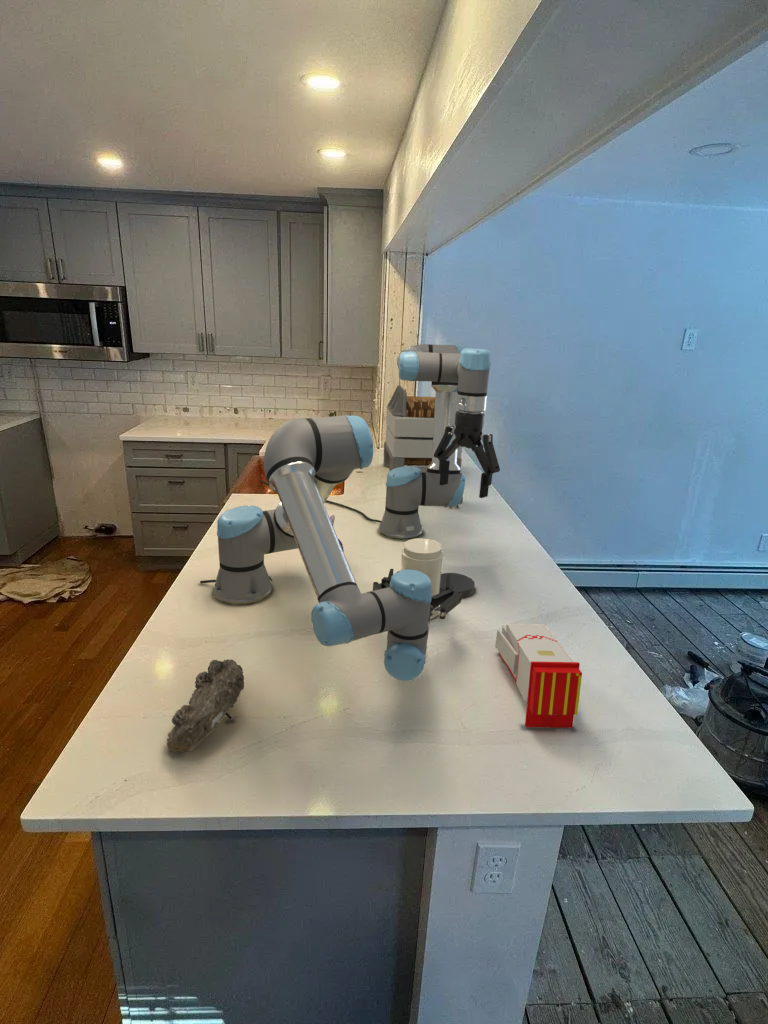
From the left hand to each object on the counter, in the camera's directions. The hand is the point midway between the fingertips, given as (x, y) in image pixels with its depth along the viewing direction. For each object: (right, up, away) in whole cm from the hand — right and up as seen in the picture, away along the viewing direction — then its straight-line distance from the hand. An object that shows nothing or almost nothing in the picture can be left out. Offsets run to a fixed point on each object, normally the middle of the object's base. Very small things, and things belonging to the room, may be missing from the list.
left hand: (419, 576), depth 136 cm
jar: (0, -10, +13) cm, 17 cm away
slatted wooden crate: (+9, +34, +139) cm, 143 cm away
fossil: (-41, -24, -28) cm, 55 cm away
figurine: (-25, 0, +39) cm, 47 cm away
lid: (+11, -5, +26) cm, 28 cm away
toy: (+23, -22, -14) cm, 34 cm away
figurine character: (+20, +19, +97) cm, 101 cm away
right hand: (+13, +21, +16) cm, 30 cm away
